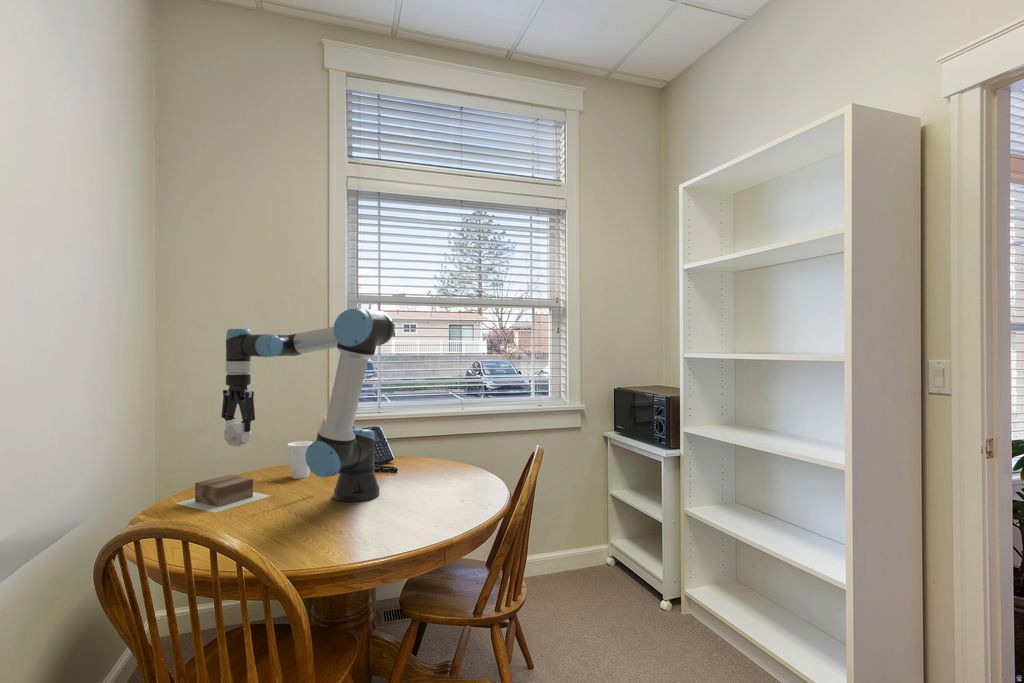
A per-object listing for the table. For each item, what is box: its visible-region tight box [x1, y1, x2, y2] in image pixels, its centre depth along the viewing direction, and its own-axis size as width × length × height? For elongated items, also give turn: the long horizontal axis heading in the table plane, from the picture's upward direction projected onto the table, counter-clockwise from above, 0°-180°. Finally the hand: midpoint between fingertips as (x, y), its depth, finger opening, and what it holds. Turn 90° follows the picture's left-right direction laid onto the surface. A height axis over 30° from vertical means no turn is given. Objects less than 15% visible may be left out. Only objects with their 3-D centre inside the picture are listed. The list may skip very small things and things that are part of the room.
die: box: [223, 421, 253, 447], centre depth 179 cm, size 8×9×10 cm
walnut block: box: [194, 474, 254, 507], centre depth 172 cm, size 12×12×6 cm
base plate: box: [174, 491, 271, 514], centre depth 172 cm, size 20×20×1 cm
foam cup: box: [287, 440, 314, 480], centre depth 205 cm, size 10×9×13 cm
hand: (237, 440), depth 179 cm, fingers closed on die, 8 cm apart
